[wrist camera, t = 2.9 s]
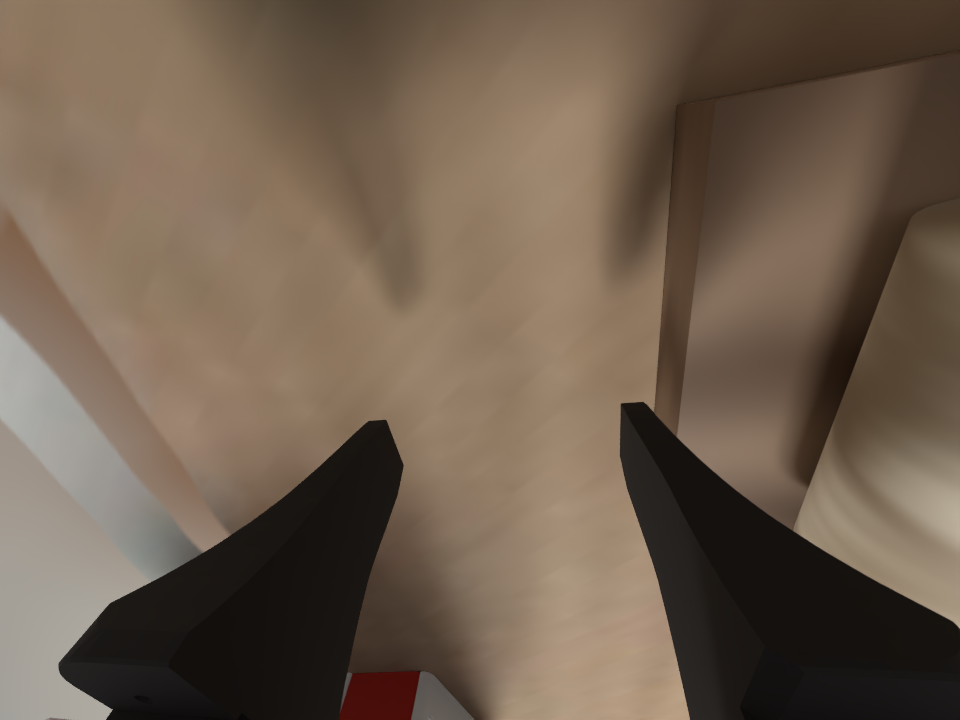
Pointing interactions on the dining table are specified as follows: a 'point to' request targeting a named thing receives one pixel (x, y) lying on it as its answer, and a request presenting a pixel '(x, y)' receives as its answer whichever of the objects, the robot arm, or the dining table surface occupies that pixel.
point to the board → (791, 258)
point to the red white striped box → (398, 698)
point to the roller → (901, 430)
